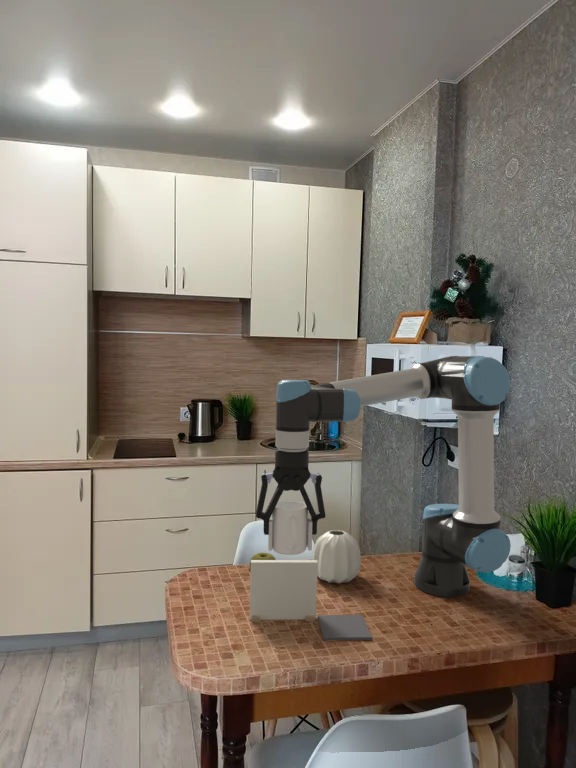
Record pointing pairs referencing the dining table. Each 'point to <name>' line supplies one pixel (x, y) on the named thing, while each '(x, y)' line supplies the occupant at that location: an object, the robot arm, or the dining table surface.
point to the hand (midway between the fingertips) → (289, 548)
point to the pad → (344, 627)
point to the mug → (289, 527)
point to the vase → (337, 557)
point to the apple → (262, 557)
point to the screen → (283, 590)
